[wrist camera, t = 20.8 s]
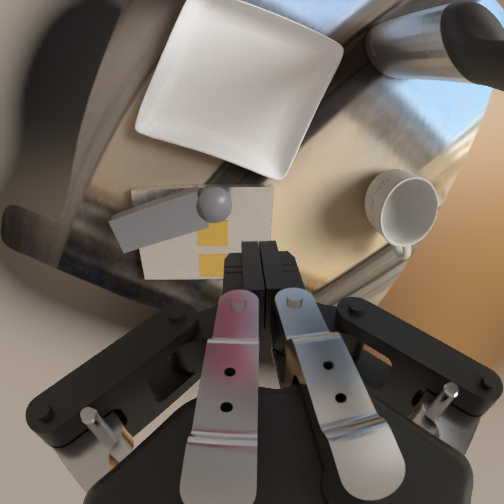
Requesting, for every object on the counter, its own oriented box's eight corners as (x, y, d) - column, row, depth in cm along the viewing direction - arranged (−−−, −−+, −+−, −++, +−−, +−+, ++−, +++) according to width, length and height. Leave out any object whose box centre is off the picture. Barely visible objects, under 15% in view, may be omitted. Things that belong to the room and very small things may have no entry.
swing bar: (225, 177, 36) (225, 183, 34) (236, 212, 39) (236, 219, 37) (114, 214, 37) (108, 221, 35) (128, 244, 40) (123, 253, 38)
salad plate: (279, 177, 41) (284, 184, 38) (138, 129, 36) (130, 132, 33) (339, 49, 32) (348, 46, 29) (195, -6, 27) (192, -15, 24)
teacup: (361, 160, 40) (386, 175, 33) (417, 165, 41) (447, 180, 34) (350, 242, 47) (369, 269, 40) (403, 240, 48) (426, 264, 41)
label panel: (272, 182, 41) (275, 189, 38) (266, 272, 49) (269, 284, 46) (133, 186, 39) (126, 193, 37) (147, 274, 47) (142, 285, 44)
